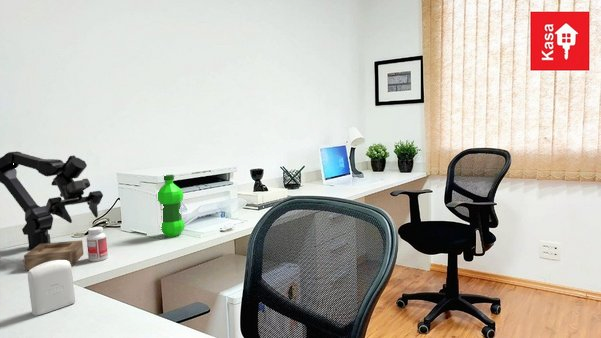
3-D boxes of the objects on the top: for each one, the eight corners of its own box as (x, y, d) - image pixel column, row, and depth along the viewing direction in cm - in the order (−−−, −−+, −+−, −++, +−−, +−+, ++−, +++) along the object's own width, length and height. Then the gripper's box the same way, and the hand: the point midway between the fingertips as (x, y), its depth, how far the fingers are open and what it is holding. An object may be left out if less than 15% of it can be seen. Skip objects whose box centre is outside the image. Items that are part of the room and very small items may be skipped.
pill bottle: (107, 255, 159) (104, 225, 158) (108, 260, 154) (105, 228, 152) (88, 258, 157) (85, 227, 155) (88, 263, 151) (85, 231, 150)
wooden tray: (25, 270, 145) (23, 255, 145) (41, 257, 159) (40, 243, 159) (71, 266, 148) (70, 251, 147) (83, 254, 162) (82, 240, 161)
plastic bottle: (184, 237, 180) (180, 176, 177) (157, 239, 178) (152, 177, 175) (187, 231, 190) (183, 173, 187) (161, 233, 188) (157, 174, 185)
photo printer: (35, 317, 110) (30, 269, 108) (29, 313, 113) (23, 266, 111) (78, 303, 118) (73, 258, 116) (71, 299, 120) (66, 255, 119)
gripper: (45, 175, 153) (62, 210, 147) (98, 169, 167) (116, 200, 162) (38, 196, 159) (54, 230, 153) (90, 188, 173) (107, 219, 168)
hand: (84, 219), depth 159 cm, fingers open, 9 cm apart
